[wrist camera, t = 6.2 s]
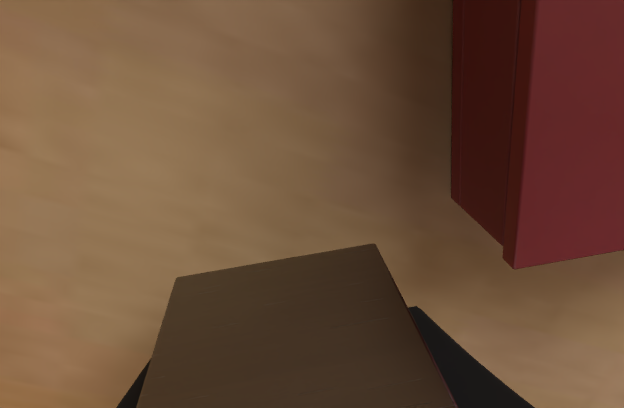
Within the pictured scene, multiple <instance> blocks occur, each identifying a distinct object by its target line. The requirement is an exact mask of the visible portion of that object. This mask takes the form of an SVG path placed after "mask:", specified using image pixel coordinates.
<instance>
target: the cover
mask: <svg viewBox="0 0 624 408" xmlns="http://www.w3.org/2000/svg"><path fill="white" fill-rule="evenodd" d="M620 250H624V0H521V12H520V26H519V39H518V53H517V67H516V80H515V94H514V108H513V121H512V135H511V149H510V162H509V176H508V190H507V203H506V217H505V231H504V245H503V259H504V260H505V261H506V262H507V263H508V264H509V265H510V266H511V267H512V268H513V269H520V268H525V267H531V266H536V265H542V264H548V263H553V262H559V261H564V260H570V259H576V258H581V257H587V256H592V255H598V254H603V253H609V252H615V251H620Z"/></svg>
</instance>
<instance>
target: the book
mask: <svg viewBox="0 0 624 408" xmlns="http://www.w3.org/2000/svg"><path fill="white" fill-rule="evenodd" d="M520 12H521V0H453V57H452V165H451V198H452V199H453V200H454V201H455V202H456V203H457V204H458V205H460V206H461V207H462V208H463V209H464V210H465V211H466V212H467V213H468V214H469V215H470V216H471V217H472V218H473V219H474V220H475V221H477V222H478V223H479V224H480V225H481V226H482V227H483V228H484V229H485V230H486V231H487V232H488V233H489V234H490V235H491V236H492V237H493V238H494V239H496V240H497V241H498V242H499V243H500V244H501V245H504V231H505V217H506V203H507V190H508V176H509V162H510V149H511V135H512V121H513V108H514V94H515V80H516V67H517V53H518V39H519V26H520Z"/></svg>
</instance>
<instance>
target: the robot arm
mask: <svg viewBox="0 0 624 408" xmlns="http://www.w3.org/2000/svg"><path fill="white" fill-rule="evenodd" d="M408 309H409V311H410V313H411V315H412V317H413V319H414V321H415V323H416V325H417V327H418V329H419V331H420V333H421V335H422V337H423V338H424V340H425V342H426V344H427V346H428V348H429V350H430V352H431V354H432V356H433V358H434V360H435V362H436V364H437V366H438V368H439V370H440V372H441V374H442V376H443V378H444V380H445V382H446V384H447V386H448V388H449V390H450V392H451V394H452V395H453V397H454V399H455V401H456V403H457V405H458V407H459V408H535V407H533V406H532V405H531V404H529V403H528V402H527V401H525V400H524V399H523V398H522V397H520V396H519V395H518V394H517V393H515V392H514V391H513V390H512V389H510V388H509V387H508V386H507V385H505V384H504V383H503V382H502V381H500V380H499V379H498V378H497V377H496V376H495V375H493V374H492V373H491V372H490V371H489V370H487V369H486V368H485V367H484V366H483V365H481V364H480V363H479V362H478V361H477V360H476V359H474V358H473V357H472V356H471V355H470V354H469V353H468V352H466V351H465V350H464V349H463V348H462V347H461V346H460V345H459V344H457V343H456V342H455V341H454V340H453V339H452V338H451V337H450V336H449V335H448V334H447V333H445V332H444V331H443V330H442V329H441V328H440V327H439V326H438V325H437V324H436V323H435V322H434V321H433V320H432V319H431V318H430V317H428V316H427V315H426V314H425V313H424V312H423V311H422V310H421V309H420V308H418V307H417V306H414V307H409V308H408ZM150 361H151V359H150ZM150 361H149V362H148V363H147V365H146V366H145V368H144V369H143V370H142V372H141V373H140V375H139V376H138V378H137V379H136V380H135V382H134V383H133V385H132V386H131V388H130V389H129V390H128V392H127V393H126V395H125V396H124V398H123V399H122V400H121V402H120V403H119V405H118V406H117V407H116V408H136V406H137V403H138V400H139V397H140V393H141V390H142V387H143V384H144V380H145V377H146V374H147V371H148V368H149V364H150Z"/></svg>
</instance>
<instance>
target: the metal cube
mask: <svg viewBox="0 0 624 408" xmlns="http://www.w3.org/2000/svg"><path fill="white" fill-rule="evenodd" d="M136 408H459V407H458V405H457V403H456V401H455V399H454V397H453V395H452V394H451V392H450V390H449V388H448V386H447V384H446V382H445V380H444V378H443V376H442V374H441V372H440V370H439V368H438V366H437V364H436V362H435V360H434V358H433V356H432V354H431V352H430V350H429V348H428V346H427V344H426V342H425V340H424V338H423V337H422V335H421V333H420V331H419V329H418V327H417V325H416V323H415V321H414V319H413V317H412V315H411V313H410V311H409V309H408V307H407V305H406V303H405V301H404V299H403V297H402V295H401V293H400V291H399V289H398V287H397V285H396V283H395V281H394V279H393V278H392V276H391V274H390V272H389V270H388V268H387V266H386V264H385V262H384V260H383V258H382V256H381V254H380V252H379V250H378V248H377V246H376V244H367V245H362V246H356V247H350V248H344V249H338V250H333V251H327V252H321V253H315V254H309V255H304V256H298V257H292V258H286V259H281V260H275V261H269V262H263V263H257V264H252V265H246V266H240V267H234V268H228V269H223V270H217V271H211V272H205V273H200V274H194V275H188V276H182V277H178V278H176V280H175V283H174V286H173V290H172V293H171V296H170V299H169V303H168V306H167V309H166V312H165V316H164V319H163V322H162V325H161V329H160V332H159V335H158V338H157V342H156V345H155V348H154V351H153V355H152V358H151V361H150V364H149V368H148V371H147V374H146V377H145V380H144V384H143V387H142V390H141V393H140V397H139V400H138V403H137V406H136Z"/></svg>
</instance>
